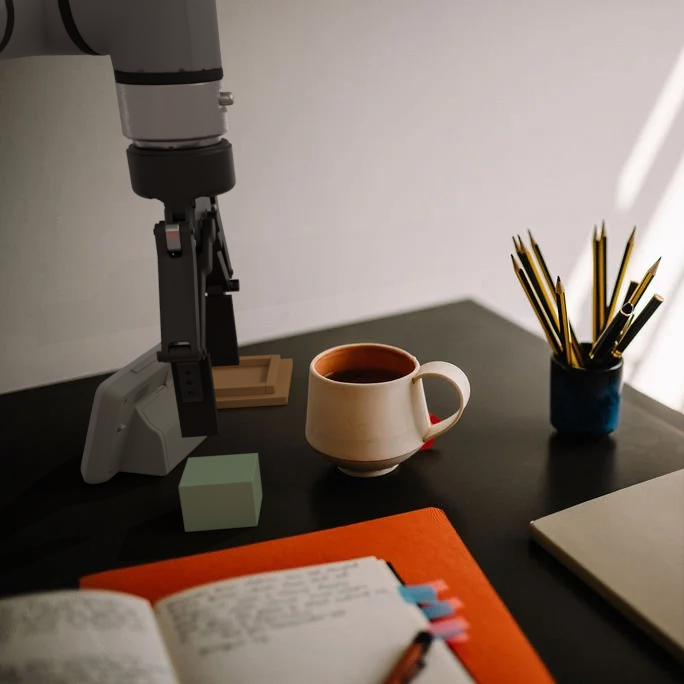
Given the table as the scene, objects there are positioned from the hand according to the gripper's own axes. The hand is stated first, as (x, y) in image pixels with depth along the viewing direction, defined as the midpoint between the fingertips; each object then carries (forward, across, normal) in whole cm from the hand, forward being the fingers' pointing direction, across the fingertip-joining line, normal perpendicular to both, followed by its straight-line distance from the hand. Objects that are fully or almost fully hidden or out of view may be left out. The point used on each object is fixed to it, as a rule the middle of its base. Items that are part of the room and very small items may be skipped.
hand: (213, 397), depth 75 cm
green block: (+11, 0, 0) cm, 11 cm away
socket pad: (+11, +27, +2) cm, 29 cm away
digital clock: (+12, +13, +9) cm, 20 cm away
